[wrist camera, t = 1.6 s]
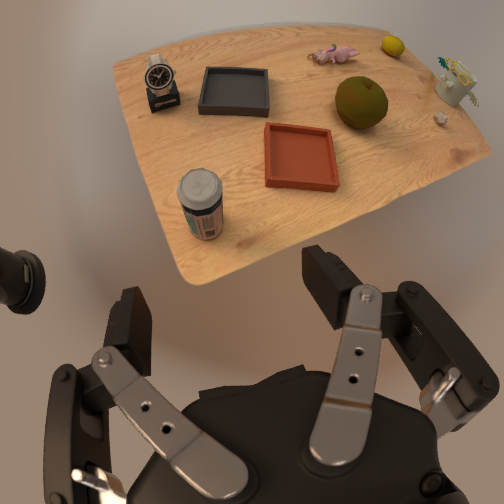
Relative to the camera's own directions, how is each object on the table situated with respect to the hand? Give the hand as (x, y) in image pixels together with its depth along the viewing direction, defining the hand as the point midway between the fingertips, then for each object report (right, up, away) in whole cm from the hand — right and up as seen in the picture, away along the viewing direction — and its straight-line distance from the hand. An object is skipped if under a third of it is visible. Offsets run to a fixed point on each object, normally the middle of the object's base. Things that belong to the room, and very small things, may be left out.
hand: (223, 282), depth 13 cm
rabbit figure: (+21, +48, +39) cm, 65 cm away
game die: (+49, +35, +38) cm, 71 cm away
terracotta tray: (+9, +16, +29) cm, 35 cm away
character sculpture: (+59, +49, +42) cm, 88 cm away
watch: (-15, +29, +31) cm, 45 cm away
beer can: (-5, +5, +25) cm, 26 cm away
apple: (+21, +28, +34) cm, 48 cm away
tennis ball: (+43, +62, +44) cm, 88 cm away
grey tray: (-2, +31, +32) cm, 45 cm away
